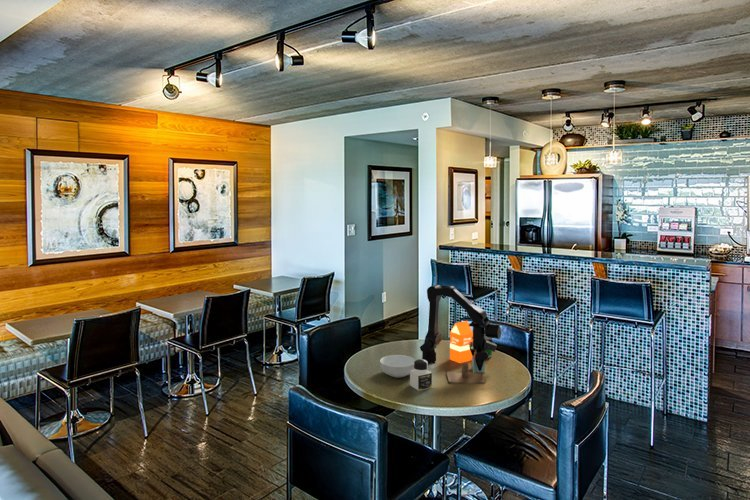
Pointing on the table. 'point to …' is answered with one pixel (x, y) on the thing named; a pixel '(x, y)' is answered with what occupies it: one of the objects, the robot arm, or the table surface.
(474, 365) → the pale teal block
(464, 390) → the table surface
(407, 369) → the cereal bowl
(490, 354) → the soda can
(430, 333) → the robot arm
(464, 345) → the orange juice
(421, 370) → the medicine bottle
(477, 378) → the wooden base plate
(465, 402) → the table surface
